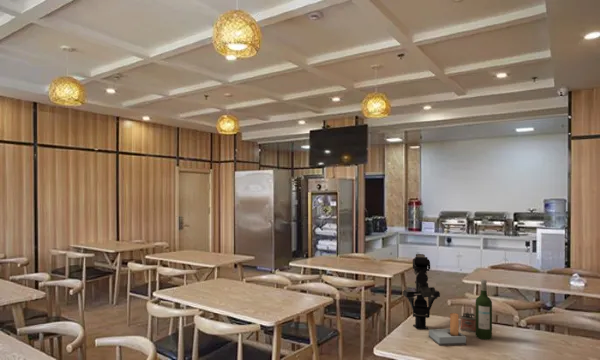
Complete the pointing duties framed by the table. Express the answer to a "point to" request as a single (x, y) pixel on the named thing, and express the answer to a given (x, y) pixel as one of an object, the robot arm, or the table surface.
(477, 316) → the wine bottle
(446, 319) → the table surface
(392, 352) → the table surface
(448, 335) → the socket block
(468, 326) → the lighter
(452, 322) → the pin
